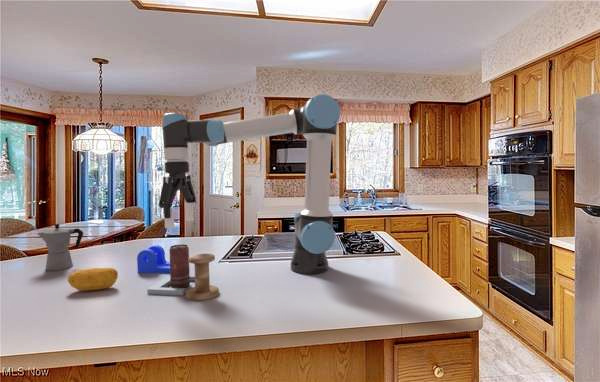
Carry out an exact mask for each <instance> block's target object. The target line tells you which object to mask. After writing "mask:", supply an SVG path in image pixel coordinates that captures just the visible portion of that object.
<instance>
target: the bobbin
mask: <svg viewBox="0 0 600 382" xmlns="http://www.w3.org/2000/svg"><path fill="white" fill-rule="evenodd" d="M215 258H216V257H215V255H214V254H212V253H197V254H196V253H195V254H192V255H189V258H188V262H189V264H194V275H195V281H194V287H191V288H188V289H186V293H185V298H186V299H187V300H189V301H192V300H194V301H195V302H201V301H200V300H203V301H208V299H209V300H212V299H214V298H216V297H218V296H219V294H220V292H219V291H220V290H219V287H217V286H215V285H212V284H211V285H210V283H211V281H210V263H212V262H213V261H215ZM194 301H193V302H194Z"/></svg>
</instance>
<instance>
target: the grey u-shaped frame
mask: <svg viewBox="0 0 600 382" xmlns="http://www.w3.org/2000/svg"><path fill="white" fill-rule="evenodd" d="M189 275H190V282H195V274H189ZM169 286H171V281H170V275H168V276H166V277H165V278H163V279H162V280H160V281H158V282H156V283H155V284H154V285H152V286H150V287H148V288H147V289H146V291H147V295H165V296H168V295H169V296H184V295H186V291H187V288H172V287H169Z"/></svg>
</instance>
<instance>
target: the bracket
mask: <svg viewBox="0 0 600 382" xmlns="http://www.w3.org/2000/svg"><path fill="white" fill-rule="evenodd" d="M136 261H137V262H136V265H137V267H136V268H137V273H142V274H145V273H148V274H153V273H154V274H170V261H167V260H166V252H165V249H164V248H163V247H162V246H161V245H159V244H155V245H152V246H150V247H148V248H146V249H143V250H140V252H139V253H137V258H136Z"/></svg>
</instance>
